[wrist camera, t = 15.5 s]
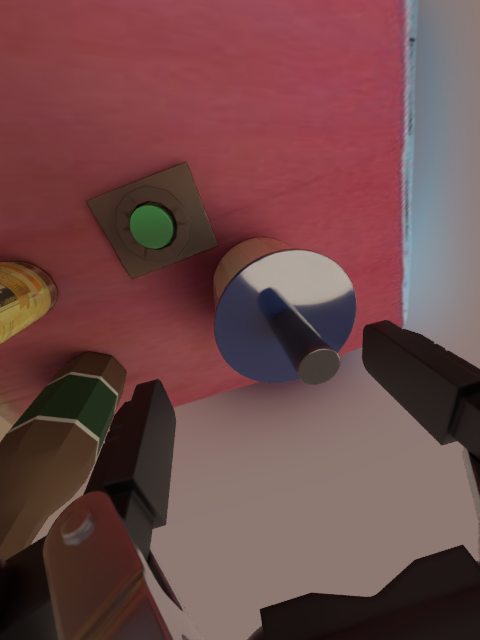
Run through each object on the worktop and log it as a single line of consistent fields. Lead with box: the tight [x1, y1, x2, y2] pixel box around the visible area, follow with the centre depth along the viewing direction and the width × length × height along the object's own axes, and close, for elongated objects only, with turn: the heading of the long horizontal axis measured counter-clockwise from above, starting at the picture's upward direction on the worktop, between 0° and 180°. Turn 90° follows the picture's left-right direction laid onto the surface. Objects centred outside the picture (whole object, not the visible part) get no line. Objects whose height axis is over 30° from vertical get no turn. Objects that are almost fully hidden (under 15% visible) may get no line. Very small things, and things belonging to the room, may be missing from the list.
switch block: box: [86, 162, 218, 279], centre depth 24 cm, size 8×10×4 cm
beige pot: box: [213, 238, 296, 308], centre depth 26 cm, size 11×11×10 cm
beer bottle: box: [0, 352, 127, 560], centre depth 21 cm, size 8×8×24 cm
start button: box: [130, 205, 174, 249], centre depth 22 cm, size 4×4×2 cm
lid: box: [214, 249, 357, 385], centre depth 18 cm, size 12×12×7 cm
